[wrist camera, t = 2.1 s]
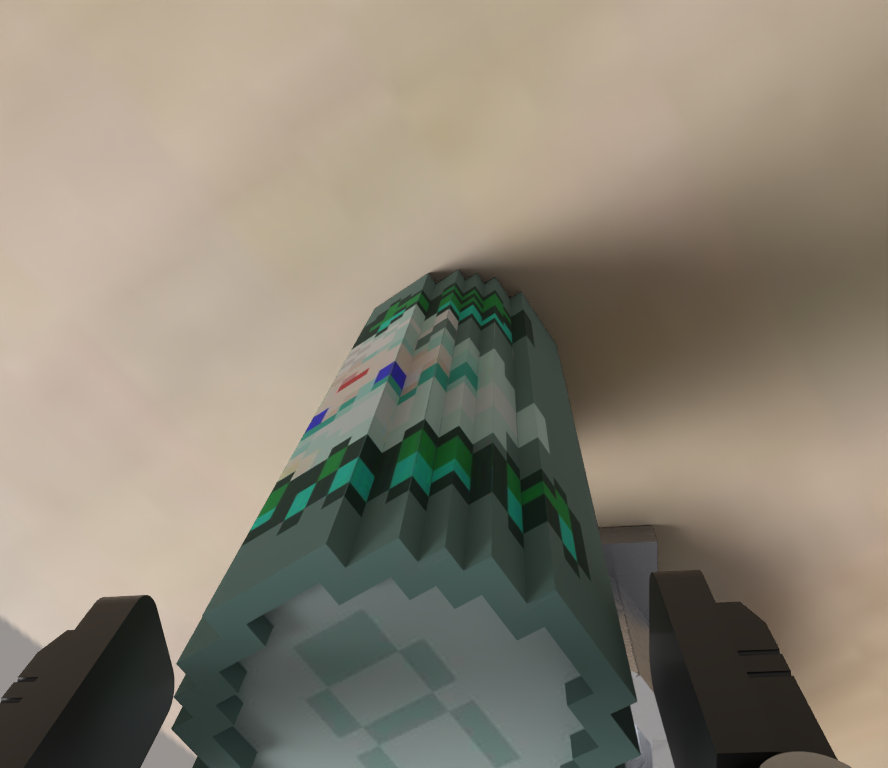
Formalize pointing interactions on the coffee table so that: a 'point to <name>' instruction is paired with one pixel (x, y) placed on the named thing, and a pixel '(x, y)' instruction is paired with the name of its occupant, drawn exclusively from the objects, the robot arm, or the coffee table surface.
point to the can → (422, 567)
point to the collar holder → (637, 631)
